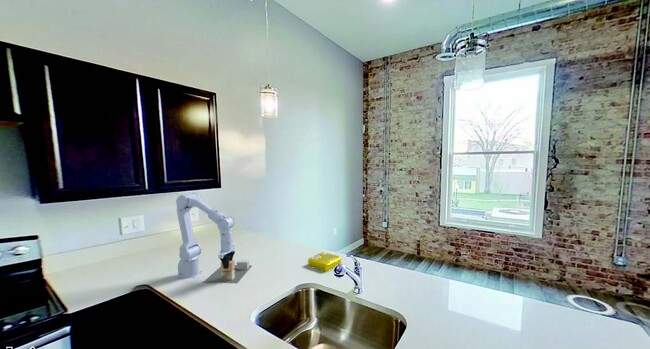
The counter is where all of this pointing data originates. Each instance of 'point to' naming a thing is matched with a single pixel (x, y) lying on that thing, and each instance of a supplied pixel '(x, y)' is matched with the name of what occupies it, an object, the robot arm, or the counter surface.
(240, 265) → the grey brick
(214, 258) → the counter surface
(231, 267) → the terracotta brick
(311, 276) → the counter surface
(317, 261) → the element tile
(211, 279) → the charcoal mat
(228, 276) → the maple brick
